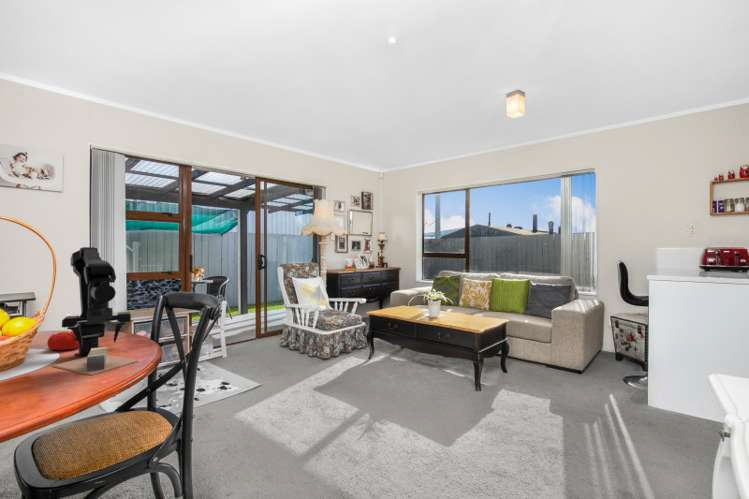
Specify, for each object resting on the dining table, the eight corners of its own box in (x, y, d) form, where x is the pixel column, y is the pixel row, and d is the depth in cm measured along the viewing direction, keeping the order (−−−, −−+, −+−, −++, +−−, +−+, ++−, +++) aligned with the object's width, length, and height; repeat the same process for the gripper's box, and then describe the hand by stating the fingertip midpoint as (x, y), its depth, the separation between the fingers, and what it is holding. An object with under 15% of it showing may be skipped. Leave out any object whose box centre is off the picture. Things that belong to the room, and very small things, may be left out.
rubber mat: (52, 366, 123) (52, 365, 123) (100, 354, 137) (100, 353, 137) (91, 375, 115) (91, 374, 115) (138, 361, 129) (138, 360, 129)
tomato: (54, 347, 147) (54, 331, 147) (87, 344, 150) (87, 329, 150) (42, 353, 137) (42, 336, 137) (77, 351, 141) (77, 334, 141)
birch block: (91, 348, 128) (86, 357, 117) (107, 346, 130) (104, 355, 119) (91, 361, 128) (86, 371, 117) (107, 359, 130) (104, 369, 119)
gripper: (58, 304, 113) (58, 354, 114) (130, 300, 124) (130, 345, 124) (64, 299, 123) (64, 345, 123) (131, 296, 133) (130, 338, 133)
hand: (98, 344), depth 125 cm, fingers open, 9 cm apart
